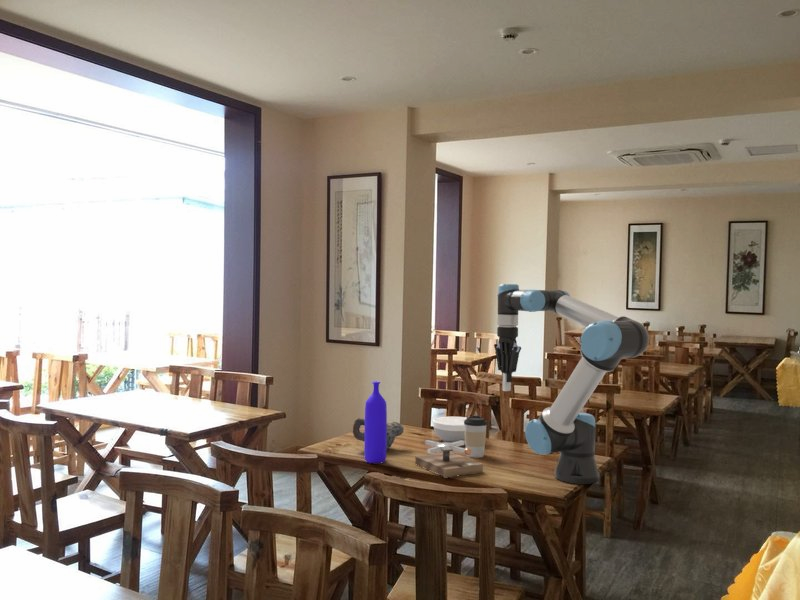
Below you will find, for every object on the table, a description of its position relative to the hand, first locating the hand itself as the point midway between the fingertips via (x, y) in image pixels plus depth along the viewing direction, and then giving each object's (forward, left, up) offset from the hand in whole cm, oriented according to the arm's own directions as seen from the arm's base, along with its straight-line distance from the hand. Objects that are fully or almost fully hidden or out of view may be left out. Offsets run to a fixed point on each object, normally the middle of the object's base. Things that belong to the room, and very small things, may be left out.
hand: (506, 390), depth 249 cm
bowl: (+44, -8, -29) cm, 53 cm away
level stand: (+9, +19, -28) cm, 35 cm away
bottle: (+30, +38, -29) cm, 56 cm away
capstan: (+8, +20, -22) cm, 30 cm away
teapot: (+46, +28, -29) cm, 61 cm away
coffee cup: (+20, -1, -29) cm, 35 cm away
